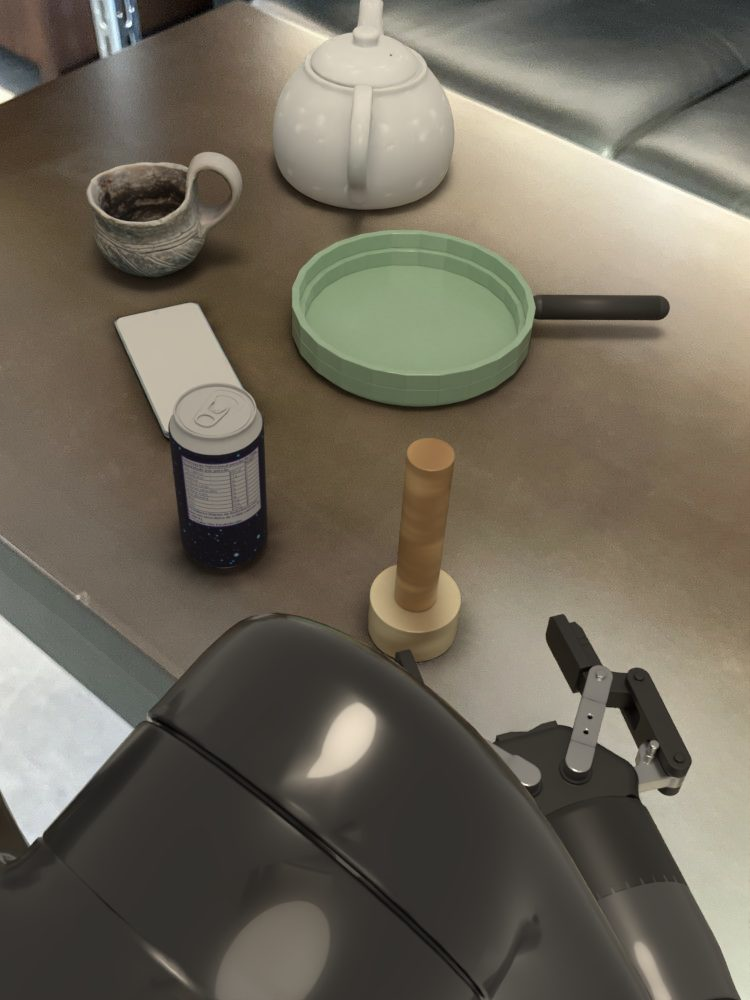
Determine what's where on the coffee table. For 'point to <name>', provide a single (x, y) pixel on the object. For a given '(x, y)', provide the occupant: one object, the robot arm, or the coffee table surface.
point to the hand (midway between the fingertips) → (477, 641)
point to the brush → (419, 563)
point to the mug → (157, 213)
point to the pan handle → (601, 307)
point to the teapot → (363, 121)
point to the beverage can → (219, 474)
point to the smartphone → (173, 354)
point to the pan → (412, 317)
